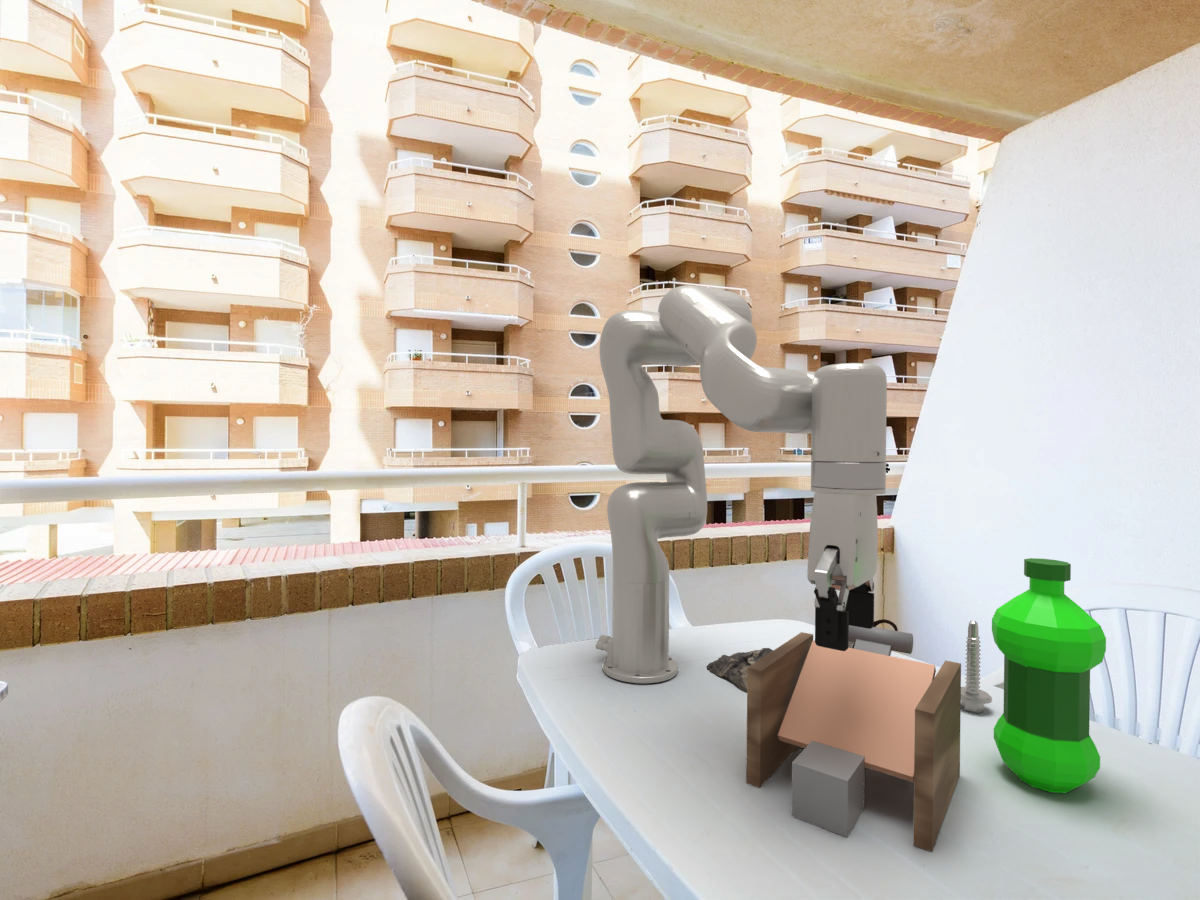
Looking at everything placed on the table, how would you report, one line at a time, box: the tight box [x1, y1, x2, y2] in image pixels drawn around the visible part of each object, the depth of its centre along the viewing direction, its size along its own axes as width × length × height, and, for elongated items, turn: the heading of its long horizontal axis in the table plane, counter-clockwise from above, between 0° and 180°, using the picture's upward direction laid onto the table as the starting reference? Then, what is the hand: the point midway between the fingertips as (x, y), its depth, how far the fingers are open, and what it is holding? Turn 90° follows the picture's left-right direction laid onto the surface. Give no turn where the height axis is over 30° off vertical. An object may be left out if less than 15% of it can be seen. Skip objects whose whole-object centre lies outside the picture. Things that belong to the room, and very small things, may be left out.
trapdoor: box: [778, 625, 937, 783], centre depth 71 cm, size 14×18×2 cm
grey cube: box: [791, 741, 866, 838], centre depth 63 cm, size 6×6×6 cm
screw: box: [961, 619, 993, 714], centre depth 89 cm, size 13×5×5 cm
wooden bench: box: [745, 631, 962, 853], centre depth 69 cm, size 19×17×13 cm
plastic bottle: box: [991, 557, 1107, 794], centre depth 70 cm, size 10×10×25 cm
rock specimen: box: [706, 647, 775, 693], centre depth 103 cm, size 19×4×15 cm
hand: (845, 636), depth 66 cm, fingers open, 9 cm apart
